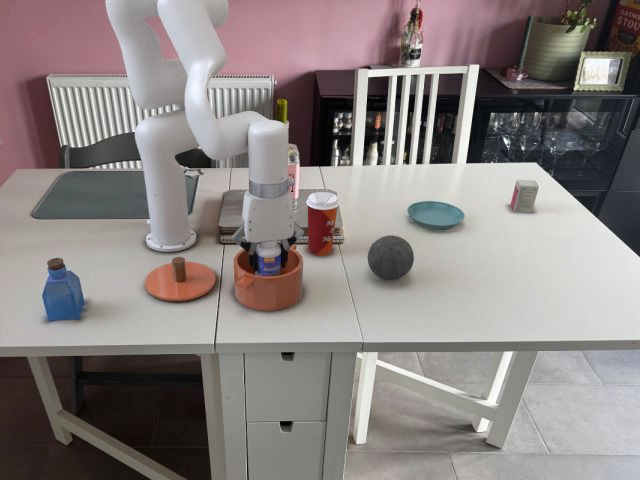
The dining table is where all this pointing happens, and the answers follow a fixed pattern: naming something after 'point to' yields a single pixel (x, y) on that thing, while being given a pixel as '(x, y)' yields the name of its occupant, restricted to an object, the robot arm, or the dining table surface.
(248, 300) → the orange cooking pot
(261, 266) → the pill bottle
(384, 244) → the decorative ball
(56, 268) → the perfume bottle
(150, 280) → the lid
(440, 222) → the saucer
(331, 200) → the paper cup
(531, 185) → the small box
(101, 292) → the dining table surface
